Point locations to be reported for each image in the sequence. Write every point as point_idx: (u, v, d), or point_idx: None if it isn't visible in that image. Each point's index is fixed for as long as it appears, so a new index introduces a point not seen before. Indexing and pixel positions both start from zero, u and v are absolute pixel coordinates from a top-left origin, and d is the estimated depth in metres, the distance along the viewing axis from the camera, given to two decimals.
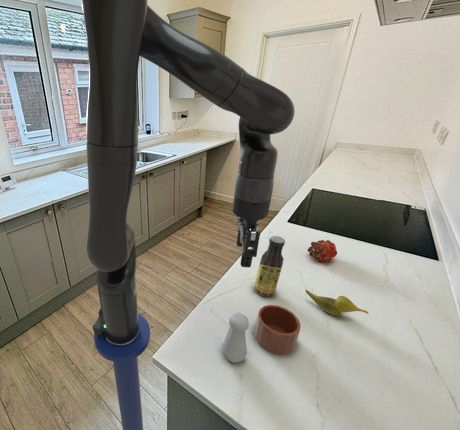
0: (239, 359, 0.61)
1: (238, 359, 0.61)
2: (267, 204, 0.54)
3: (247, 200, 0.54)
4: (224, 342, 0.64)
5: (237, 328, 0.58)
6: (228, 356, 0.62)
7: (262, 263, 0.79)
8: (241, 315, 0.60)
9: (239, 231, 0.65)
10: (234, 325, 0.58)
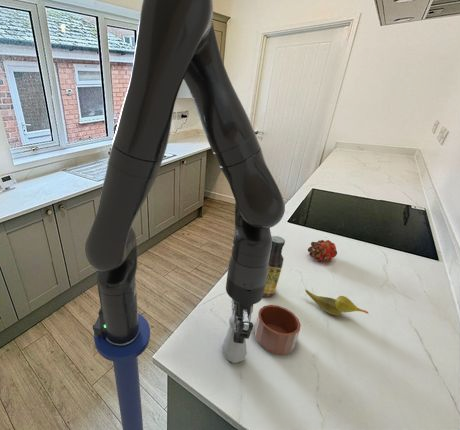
0: (239, 359, 0.61)
1: (238, 359, 0.61)
2: (261, 289, 0.52)
3: (240, 286, 0.51)
4: (224, 342, 0.64)
5: None
6: (228, 356, 0.62)
7: None
8: None
9: (234, 310, 0.61)
10: (234, 325, 0.58)
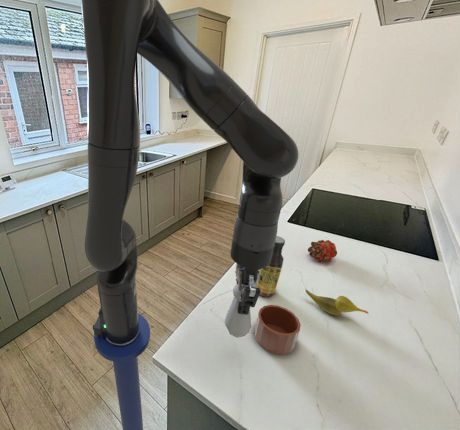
0: (243, 333, 0.58)
1: (242, 333, 0.58)
2: (270, 252, 0.48)
3: (247, 248, 0.47)
4: (227, 315, 0.60)
5: None
6: (231, 330, 0.58)
7: None
8: (246, 285, 0.56)
9: None
10: None
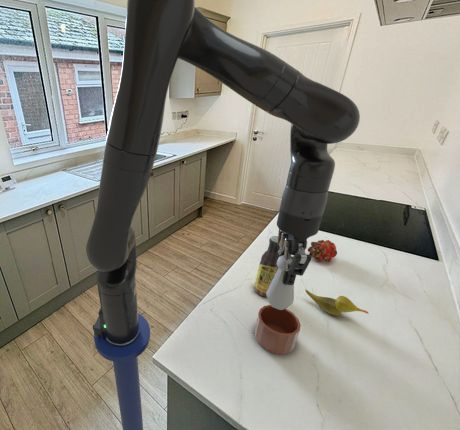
0: (287, 304, 0.59)
1: (286, 304, 0.59)
2: (320, 220, 0.49)
3: (298, 215, 0.49)
4: (270, 288, 0.61)
5: None
6: (275, 301, 0.60)
7: (262, 263, 0.79)
8: None
9: (281, 253, 0.59)
10: (284, 265, 0.56)
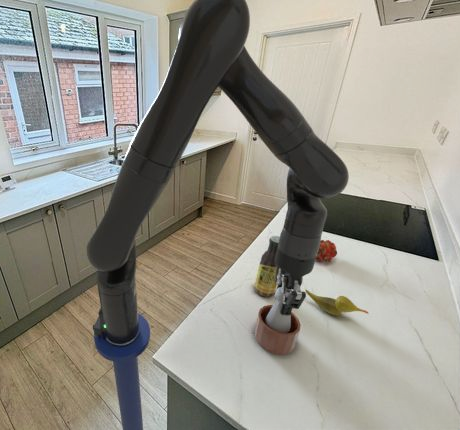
0: (284, 332, 0.64)
1: (283, 332, 0.64)
2: (314, 260, 0.54)
3: (294, 257, 0.54)
4: (268, 316, 0.66)
5: None
6: (273, 329, 0.65)
7: (262, 263, 0.79)
8: (287, 289, 0.63)
9: (279, 284, 0.64)
10: (282, 297, 0.61)
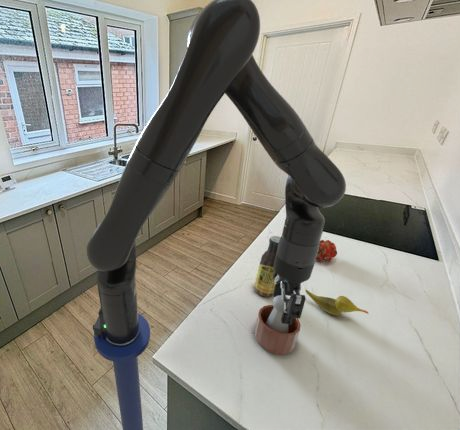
0: None
1: None
2: (312, 267, 0.55)
3: (292, 264, 0.55)
4: (266, 324, 0.67)
5: (282, 309, 0.62)
6: None
7: (262, 263, 0.79)
8: None
9: (276, 283, 0.66)
10: (279, 306, 0.62)
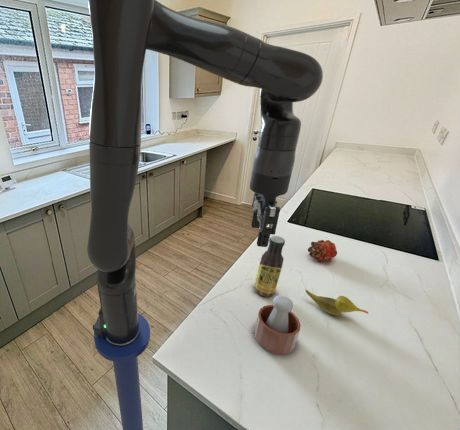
0: None
1: None
2: (288, 179, 0.52)
3: (267, 174, 0.52)
4: (266, 324, 0.67)
5: (282, 309, 0.62)
6: None
7: (262, 263, 0.79)
8: (285, 297, 0.64)
9: (255, 211, 0.63)
10: (279, 306, 0.62)
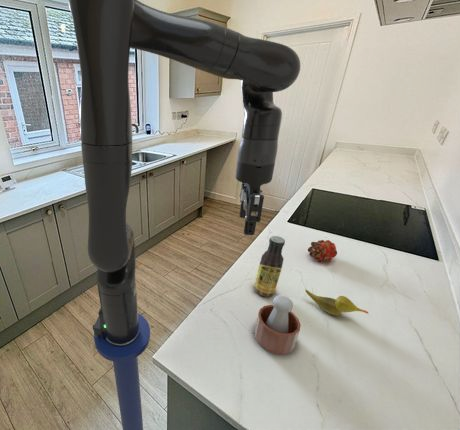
0: None
1: None
2: (271, 168, 0.54)
3: (251, 163, 0.53)
4: (266, 324, 0.67)
5: (282, 309, 0.62)
6: None
7: (262, 263, 0.79)
8: (285, 297, 0.64)
9: (242, 201, 0.65)
10: (279, 306, 0.62)
